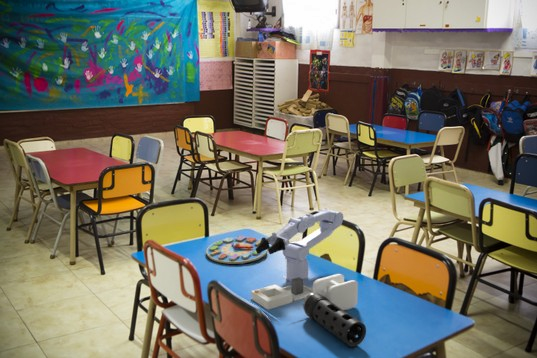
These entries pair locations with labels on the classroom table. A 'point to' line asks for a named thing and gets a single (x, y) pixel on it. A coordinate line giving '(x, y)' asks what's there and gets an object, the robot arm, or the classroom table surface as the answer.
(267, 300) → the socket block
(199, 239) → the classroom table surface
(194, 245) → the classroom table surface
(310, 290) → the tray
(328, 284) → the cable organizer
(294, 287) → the plug
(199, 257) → the classroom table surface
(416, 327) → the classroom table surface
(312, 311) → the muzzle brake
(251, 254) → the shape sorting clock
